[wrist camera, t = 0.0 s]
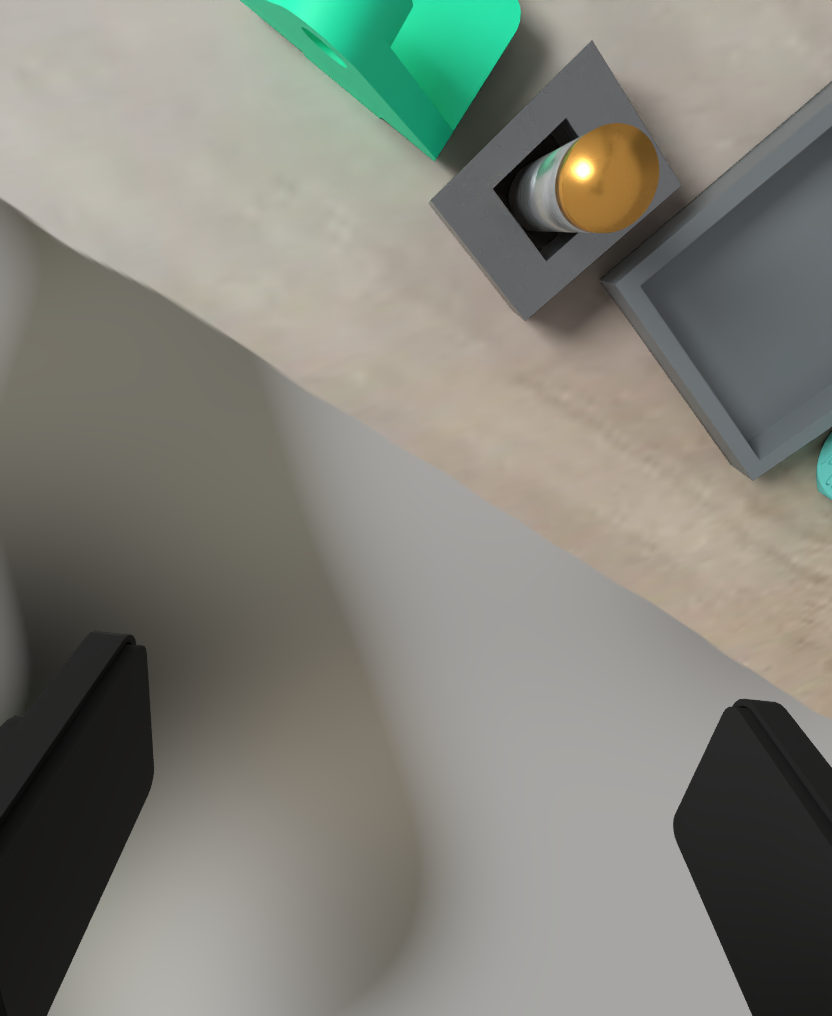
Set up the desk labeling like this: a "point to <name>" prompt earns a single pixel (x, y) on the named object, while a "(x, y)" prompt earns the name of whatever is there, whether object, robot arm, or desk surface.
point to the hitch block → (470, 196)
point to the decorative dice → (825, 469)
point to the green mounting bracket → (402, 54)
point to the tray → (747, 295)
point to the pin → (588, 183)
